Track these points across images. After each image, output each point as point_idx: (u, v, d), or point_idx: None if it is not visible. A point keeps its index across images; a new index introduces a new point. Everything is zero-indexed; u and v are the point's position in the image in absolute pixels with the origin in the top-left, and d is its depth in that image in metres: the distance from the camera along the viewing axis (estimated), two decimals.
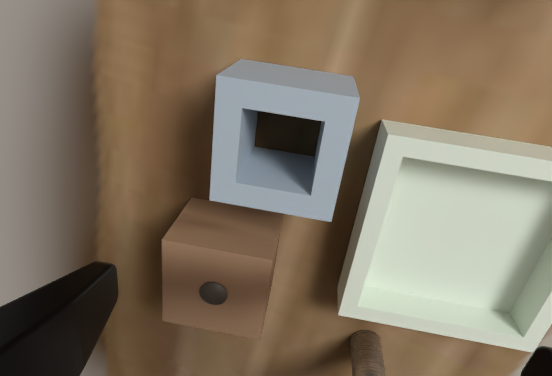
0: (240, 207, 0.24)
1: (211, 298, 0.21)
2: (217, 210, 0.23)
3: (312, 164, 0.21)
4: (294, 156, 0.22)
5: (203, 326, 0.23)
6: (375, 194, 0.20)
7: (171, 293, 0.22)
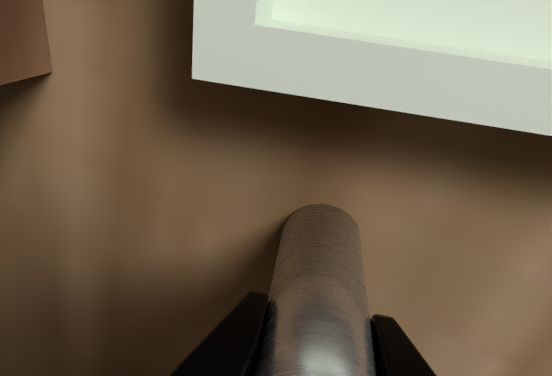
0: None
1: None
2: None
3: None
4: None
5: None
6: None
7: None
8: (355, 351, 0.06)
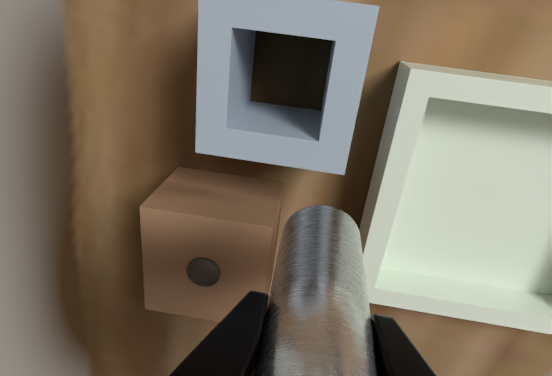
0: (234, 176, 0.21)
1: (201, 278, 0.18)
2: (207, 178, 0.20)
3: (318, 116, 0.18)
4: (297, 109, 0.19)
5: (193, 314, 0.19)
6: (396, 146, 0.17)
7: (154, 274, 0.18)
8: (356, 353, 0.06)
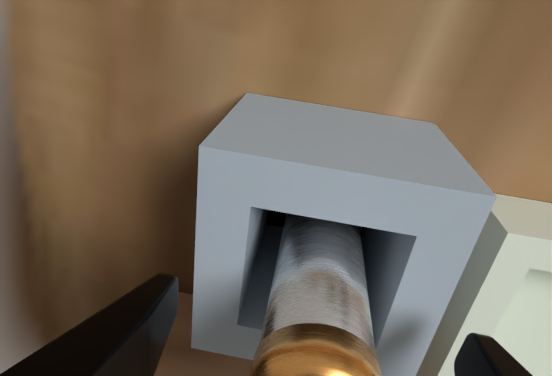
0: None
1: None
2: None
3: None
4: None
5: None
6: (472, 320, 0.12)
7: None
8: (349, 245, 0.09)
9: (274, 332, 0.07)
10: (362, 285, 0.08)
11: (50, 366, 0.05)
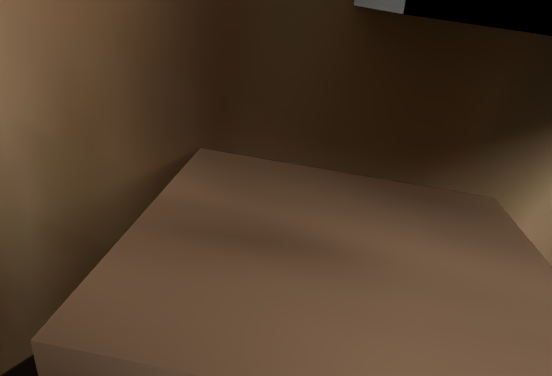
0: (358, 181, 0.07)
1: None
2: (288, 187, 0.07)
3: None
4: None
5: None
6: None
7: None
8: None
9: None
10: None
11: None
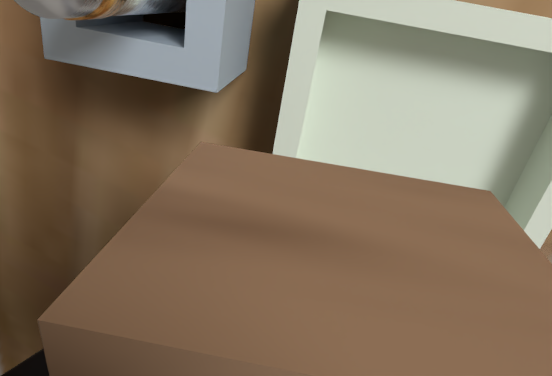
0: (356, 174, 0.07)
1: None
2: (287, 179, 0.07)
3: None
4: None
5: None
6: (292, 71, 0.14)
7: None
8: None
9: None
10: None
11: None
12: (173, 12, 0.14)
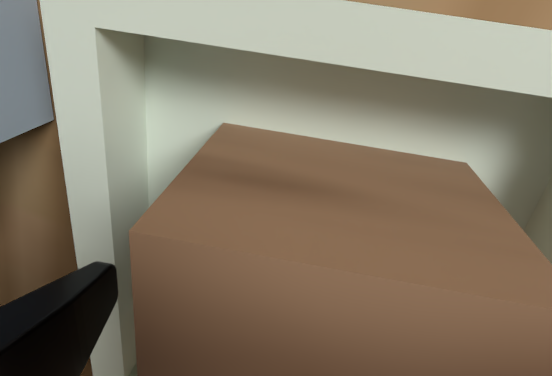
0: (354, 148, 0.09)
1: None
2: (297, 151, 0.08)
3: None
4: None
5: None
6: (68, 137, 0.08)
7: None
8: None
9: None
10: None
11: None
12: None
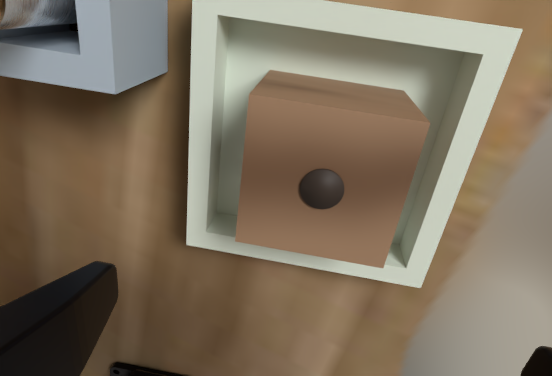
0: (342, 82, 0.17)
1: (318, 197, 0.14)
2: (312, 81, 0.16)
3: None
4: None
5: (297, 248, 0.15)
6: (195, 72, 0.16)
7: (254, 193, 0.14)
8: None
9: None
10: None
11: None
12: None
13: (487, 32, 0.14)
